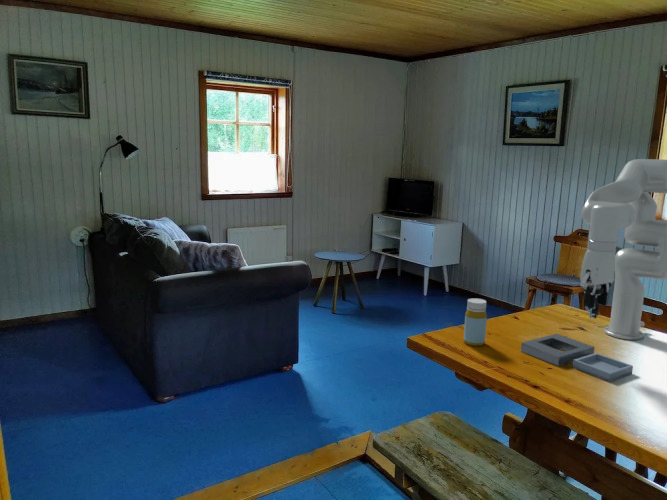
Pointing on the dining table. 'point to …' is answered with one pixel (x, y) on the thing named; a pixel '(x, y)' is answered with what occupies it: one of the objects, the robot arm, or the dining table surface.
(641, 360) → the dining table surface
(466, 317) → the bottle
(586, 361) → the tray
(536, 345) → the block
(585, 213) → the robot arm
